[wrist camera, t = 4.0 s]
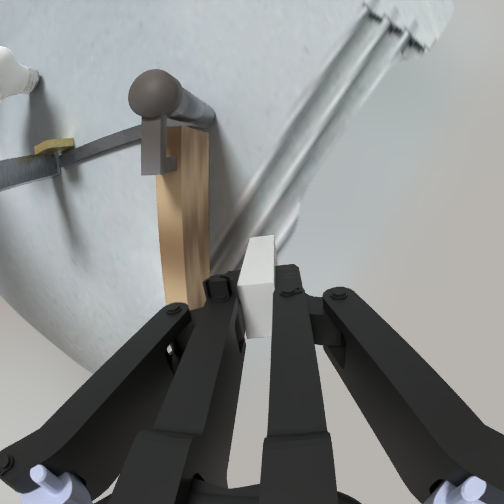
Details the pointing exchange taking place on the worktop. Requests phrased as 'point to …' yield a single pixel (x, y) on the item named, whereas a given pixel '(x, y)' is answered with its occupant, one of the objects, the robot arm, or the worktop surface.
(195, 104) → the gate frame
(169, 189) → the gate
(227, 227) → the worktop surface
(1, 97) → the light bulb
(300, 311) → the robot arm
